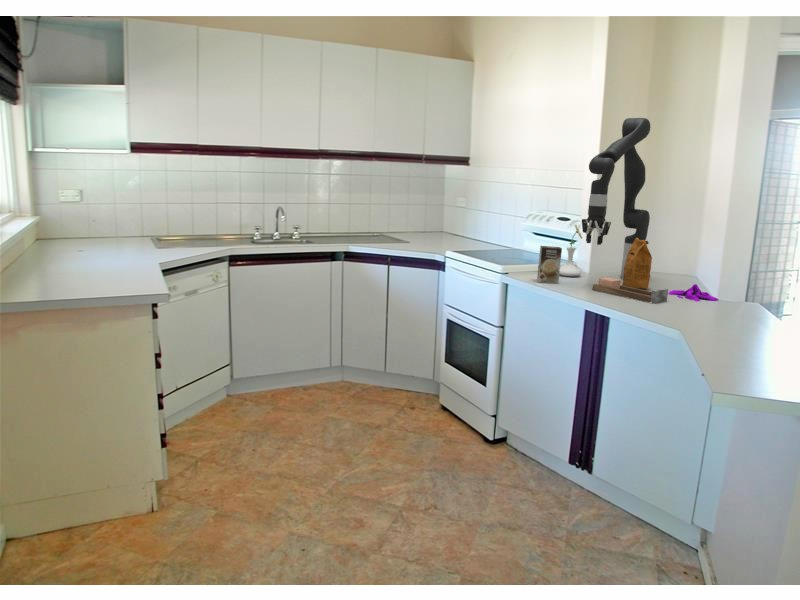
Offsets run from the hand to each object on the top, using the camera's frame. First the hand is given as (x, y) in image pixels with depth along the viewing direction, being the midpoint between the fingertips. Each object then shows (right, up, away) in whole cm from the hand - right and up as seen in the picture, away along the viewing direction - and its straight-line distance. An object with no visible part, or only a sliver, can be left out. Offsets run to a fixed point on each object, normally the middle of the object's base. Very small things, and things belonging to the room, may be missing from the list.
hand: (593, 243), depth 284 cm
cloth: (+39, -24, -10) cm, 47 cm away
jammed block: (+5, -21, -3) cm, 22 cm away
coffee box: (-17, -17, +13) cm, 27 cm away
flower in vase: (-3, -13, +31) cm, 34 cm away
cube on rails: (+11, -23, -10) cm, 27 cm away
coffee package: (+20, -19, +7) cm, 29 cm away
